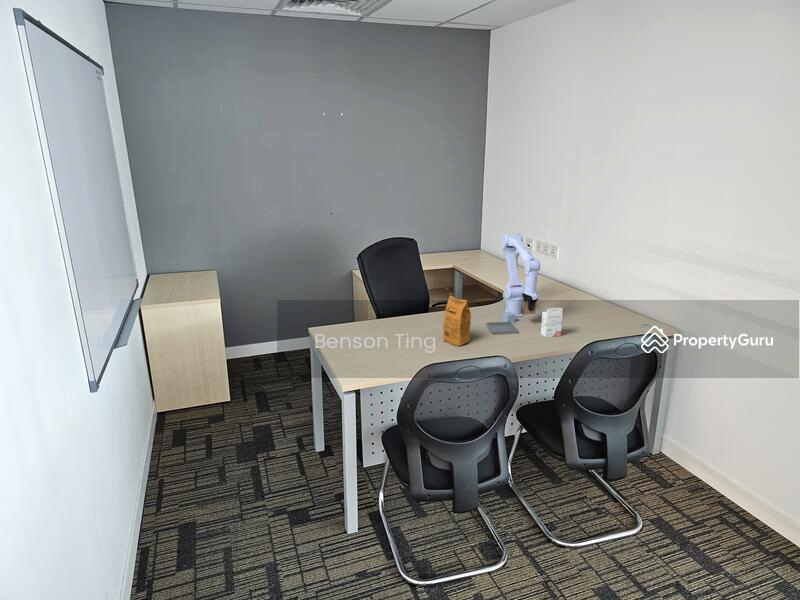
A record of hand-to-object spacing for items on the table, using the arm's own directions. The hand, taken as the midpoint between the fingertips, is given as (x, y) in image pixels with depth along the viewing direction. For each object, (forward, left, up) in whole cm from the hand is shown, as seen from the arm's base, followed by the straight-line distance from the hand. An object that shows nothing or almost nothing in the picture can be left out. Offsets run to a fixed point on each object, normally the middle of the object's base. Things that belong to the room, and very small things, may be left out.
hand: (528, 308), depth 271 cm
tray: (+6, -16, -8) cm, 19 cm away
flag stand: (-37, +4, -9) cm, 39 cm away
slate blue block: (-5, -9, -8) cm, 13 cm away
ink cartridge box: (+16, +6, -9) cm, 19 cm away
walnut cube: (0, 0, -2) cm, 2 cm away
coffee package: (+20, -42, -9) cm, 47 cm away
